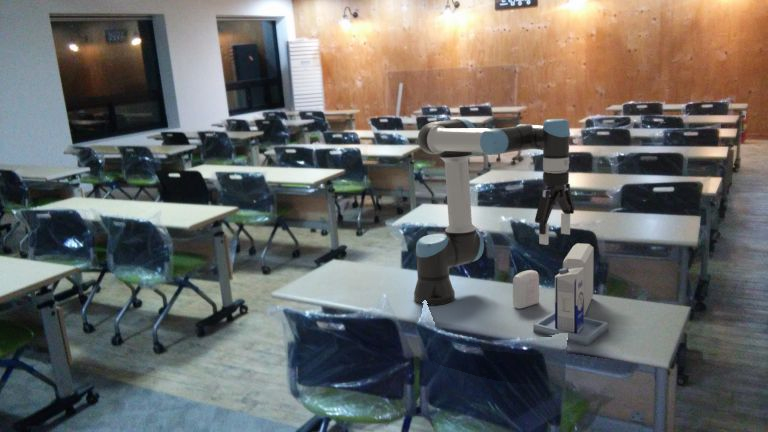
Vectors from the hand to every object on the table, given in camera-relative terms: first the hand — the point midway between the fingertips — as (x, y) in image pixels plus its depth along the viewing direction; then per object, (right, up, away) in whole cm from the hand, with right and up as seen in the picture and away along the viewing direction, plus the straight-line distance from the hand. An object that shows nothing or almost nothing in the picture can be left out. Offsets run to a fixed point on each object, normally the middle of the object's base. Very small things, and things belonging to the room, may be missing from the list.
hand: (554, 238), depth 192 cm
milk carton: (+5, -29, +1) cm, 29 cm away
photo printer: (-3, -24, +27) cm, 36 cm away
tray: (+6, -29, +2) cm, 30 cm away
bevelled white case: (+14, -24, +22) cm, 35 cm away
